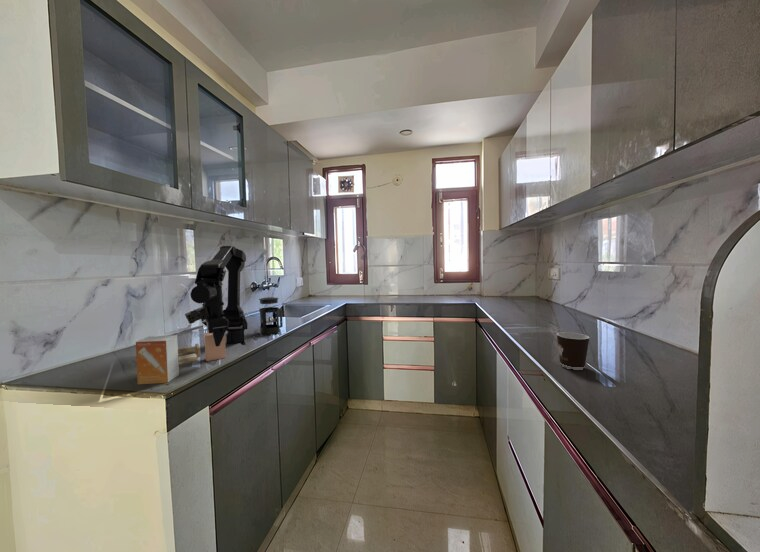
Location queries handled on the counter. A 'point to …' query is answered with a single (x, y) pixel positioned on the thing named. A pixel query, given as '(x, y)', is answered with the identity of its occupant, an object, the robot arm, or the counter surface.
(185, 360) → the offcut top
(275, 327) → the french press
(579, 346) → the coffee mug
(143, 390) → the counter surface
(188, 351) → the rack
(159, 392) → the counter surface
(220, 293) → the robot arm
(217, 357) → the salmon pink block
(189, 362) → the offcut bottom
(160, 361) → the small box
